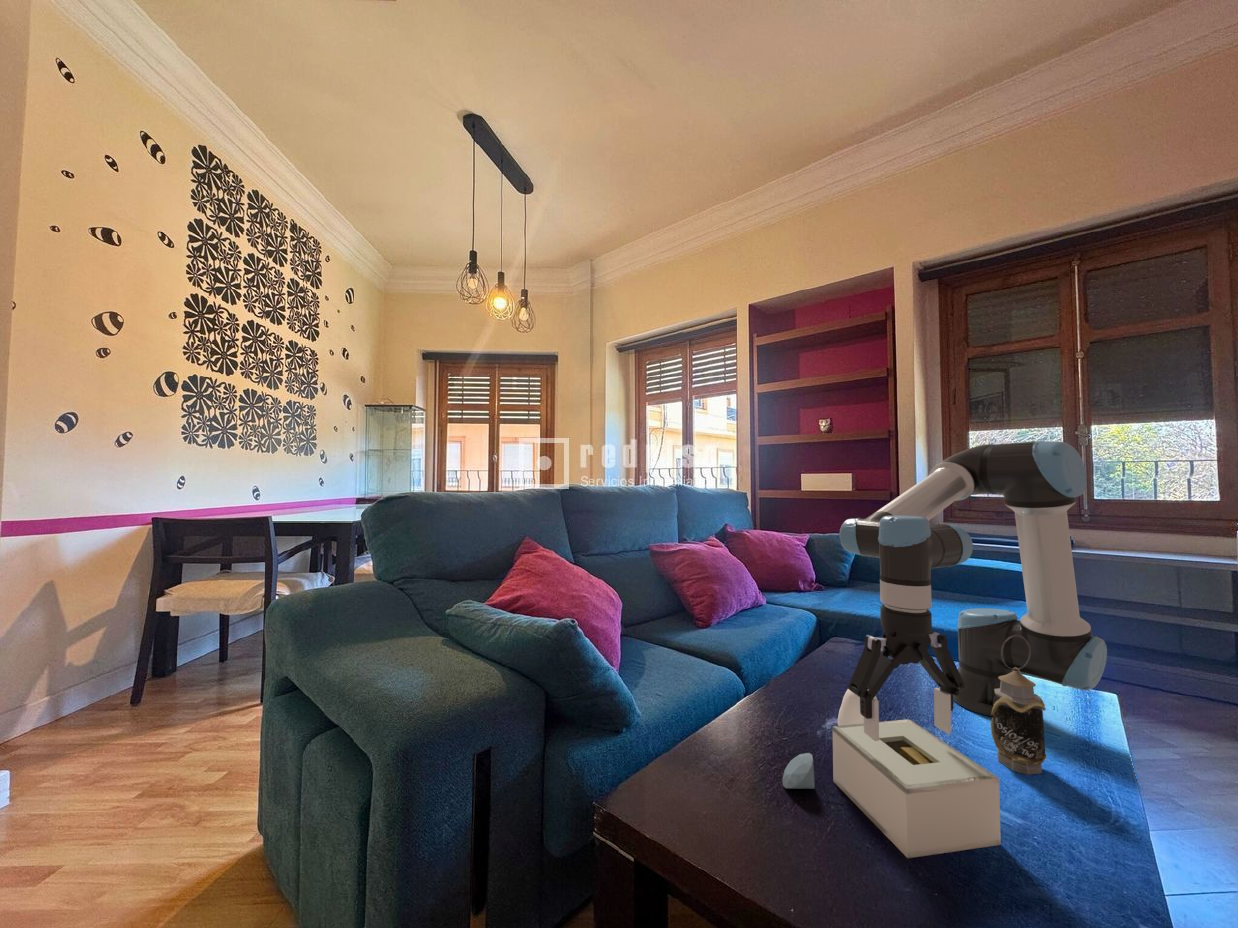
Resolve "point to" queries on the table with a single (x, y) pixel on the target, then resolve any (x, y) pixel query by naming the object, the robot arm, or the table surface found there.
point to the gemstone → (799, 772)
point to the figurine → (850, 710)
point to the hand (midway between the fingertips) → (907, 733)
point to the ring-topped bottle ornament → (1018, 722)
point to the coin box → (917, 789)
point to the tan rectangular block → (913, 756)
